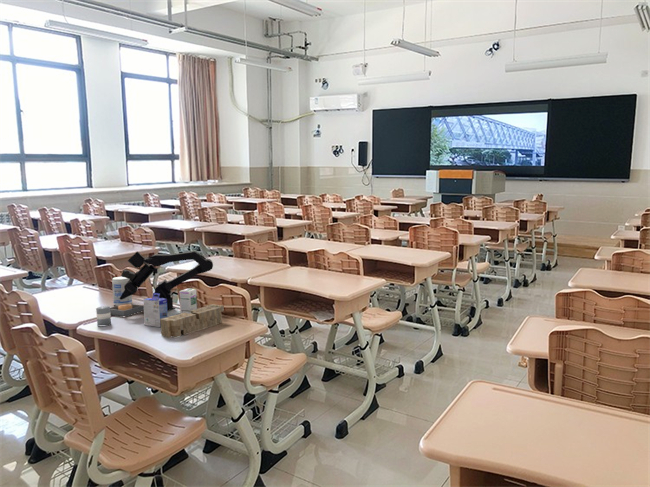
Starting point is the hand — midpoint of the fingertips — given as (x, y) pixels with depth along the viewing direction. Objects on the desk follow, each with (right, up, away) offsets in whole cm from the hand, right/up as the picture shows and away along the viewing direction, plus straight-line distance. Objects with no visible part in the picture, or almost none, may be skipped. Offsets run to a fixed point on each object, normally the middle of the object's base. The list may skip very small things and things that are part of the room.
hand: (121, 297), depth 248 cm
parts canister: (0, -11, -20) cm, 22 cm away
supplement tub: (-8, -6, +21) cm, 23 cm away
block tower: (+44, -11, -30) cm, 55 cm away
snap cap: (+1, -8, +1) cm, 8 cm away
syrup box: (+38, -9, -14) cm, 42 cm away
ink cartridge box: (+25, -11, -22) cm, 35 cm away
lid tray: (+1, -8, +1) cm, 8 cm away
